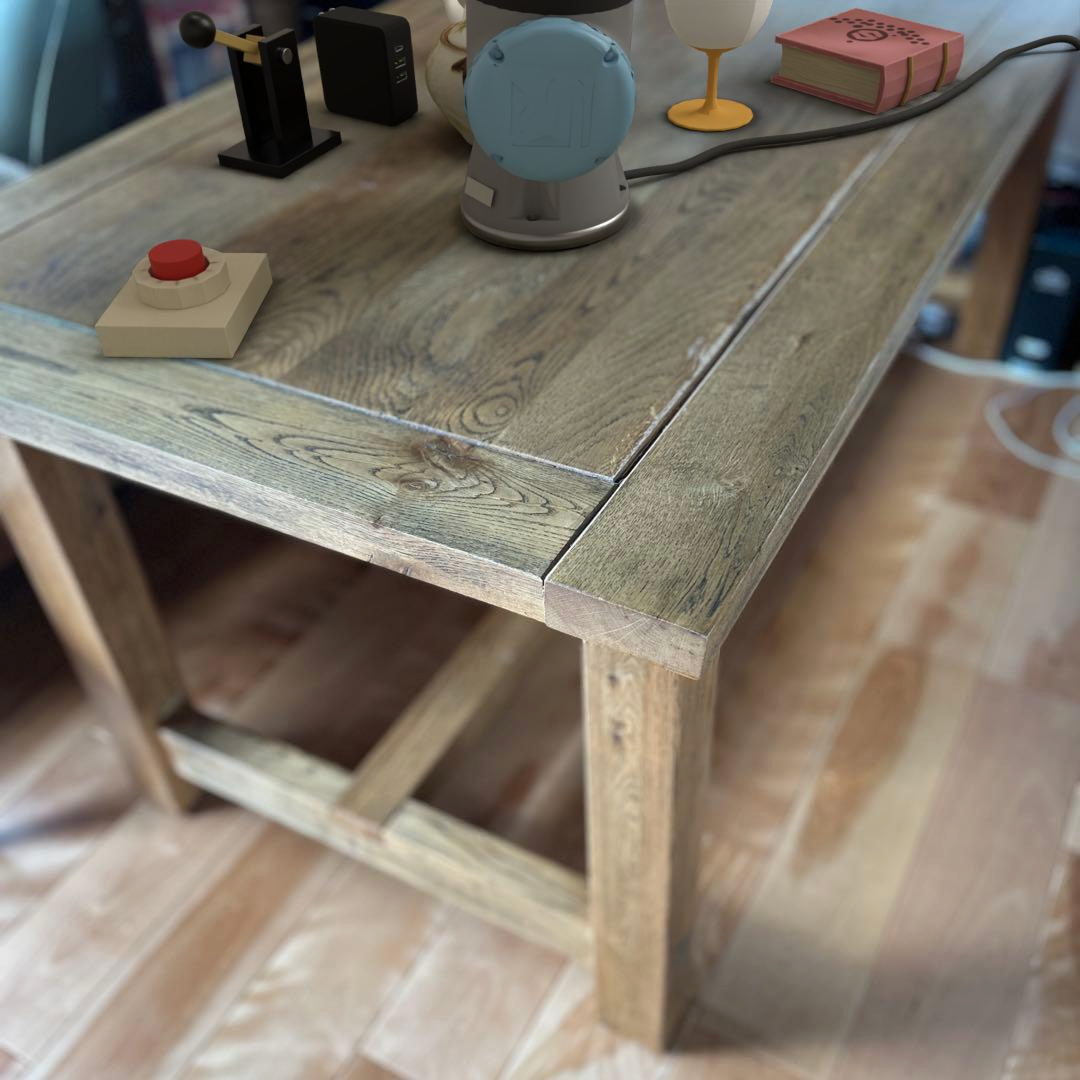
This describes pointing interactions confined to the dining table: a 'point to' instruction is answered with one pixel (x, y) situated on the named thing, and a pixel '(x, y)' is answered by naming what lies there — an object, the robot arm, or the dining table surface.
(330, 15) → the electronic device
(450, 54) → the sugar bowl
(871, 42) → the book
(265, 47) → the lamp switch
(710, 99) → the cup
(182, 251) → the power button
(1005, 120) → the dining table surface
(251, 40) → the lever
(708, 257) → the dining table surface
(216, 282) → the power block
